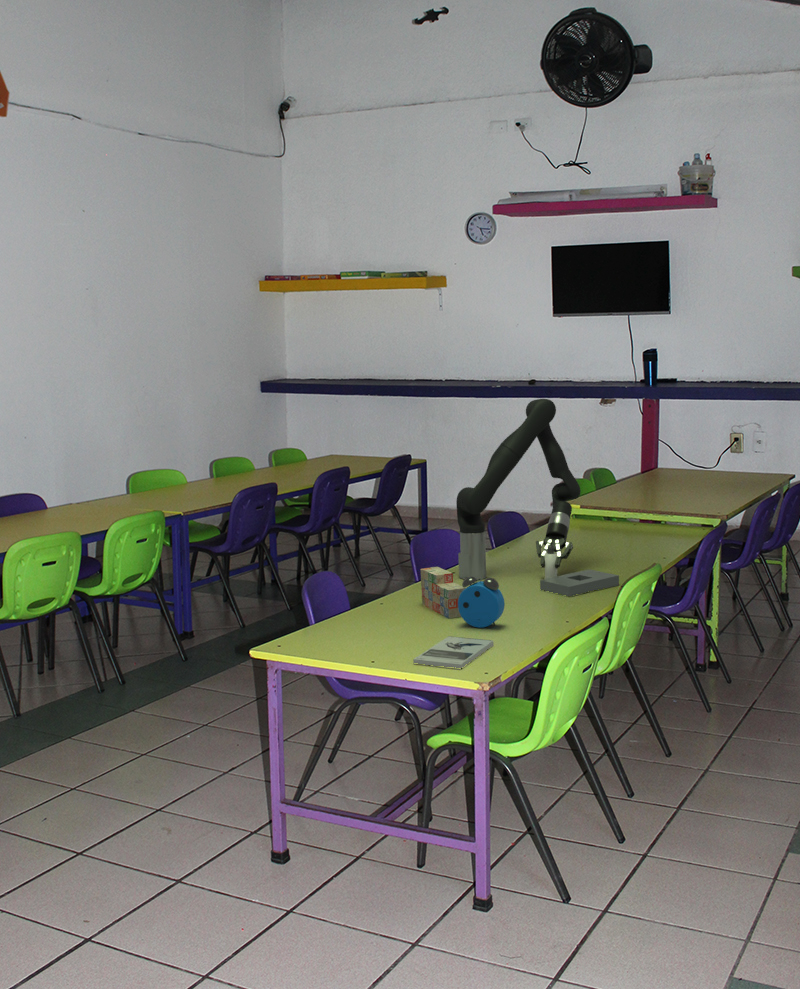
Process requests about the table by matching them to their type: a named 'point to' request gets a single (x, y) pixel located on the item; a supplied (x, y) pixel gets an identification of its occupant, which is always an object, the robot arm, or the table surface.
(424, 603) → the stack of blocks
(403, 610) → the table surface
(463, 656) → the book
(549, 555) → the plug
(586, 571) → the socket plate
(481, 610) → the alarm clock
